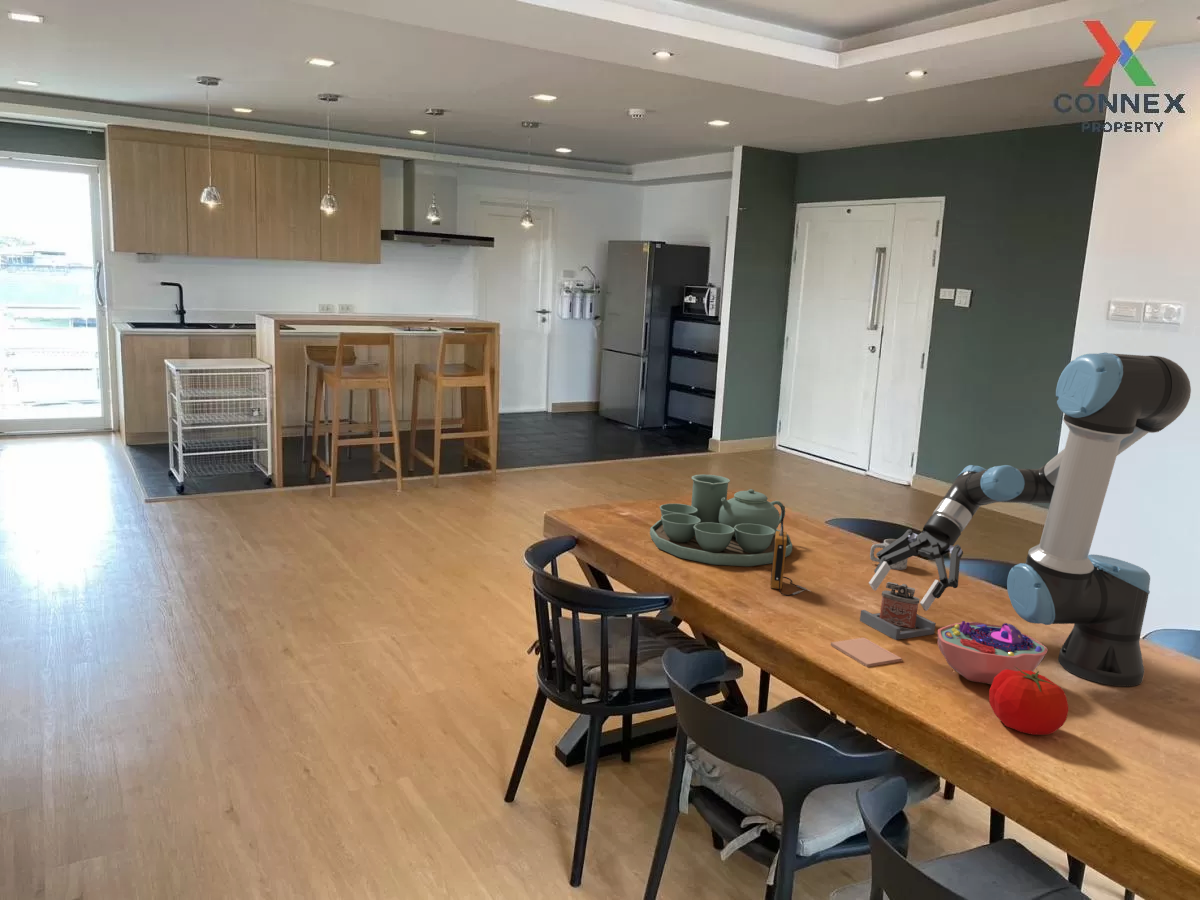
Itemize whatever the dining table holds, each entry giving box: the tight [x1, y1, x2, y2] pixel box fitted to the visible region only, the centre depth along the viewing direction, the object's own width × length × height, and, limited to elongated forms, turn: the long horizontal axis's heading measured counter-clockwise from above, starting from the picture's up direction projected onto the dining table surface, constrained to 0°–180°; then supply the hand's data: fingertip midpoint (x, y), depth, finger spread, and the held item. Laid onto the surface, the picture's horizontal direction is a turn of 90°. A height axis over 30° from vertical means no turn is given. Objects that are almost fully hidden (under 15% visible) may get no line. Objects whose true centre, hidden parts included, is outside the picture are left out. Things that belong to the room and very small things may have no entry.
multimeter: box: [770, 505, 812, 597], centre depth 217 cm, size 15×10×20 cm
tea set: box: [649, 474, 793, 567], centre depth 249 cm, size 40×40×16 cm
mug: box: [869, 538, 909, 571], centre depth 240 cm, size 10×7×7 cm
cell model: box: [937, 620, 1048, 685], centre depth 171 cm, size 17×20×11 cm
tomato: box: [988, 666, 1069, 736], centre depth 152 cm, size 11×13×10 cm
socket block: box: [859, 609, 937, 641], centre depth 196 cm, size 11×11×2 cm
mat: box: [830, 637, 903, 668], centre depth 181 cm, size 11×9×1 cm
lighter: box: [879, 581, 921, 632], centre depth 195 cm, size 8×3×10 cm, turn 58°
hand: (896, 596), depth 195 cm, fingers open, 13 cm apart
